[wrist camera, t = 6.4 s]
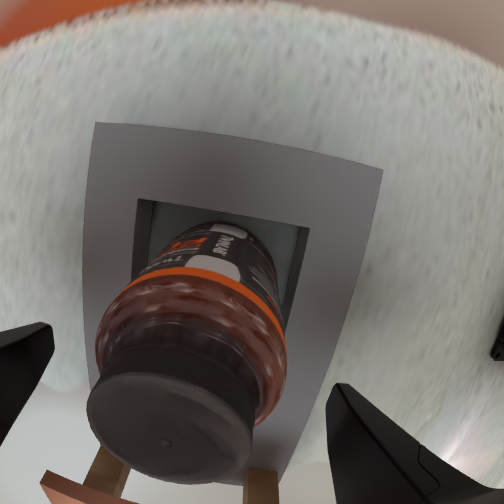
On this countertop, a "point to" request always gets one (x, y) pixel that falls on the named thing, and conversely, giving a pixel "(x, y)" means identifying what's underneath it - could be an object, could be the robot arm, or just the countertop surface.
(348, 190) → the socket plate
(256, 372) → the supplement bottle
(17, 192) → the countertop surface
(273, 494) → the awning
